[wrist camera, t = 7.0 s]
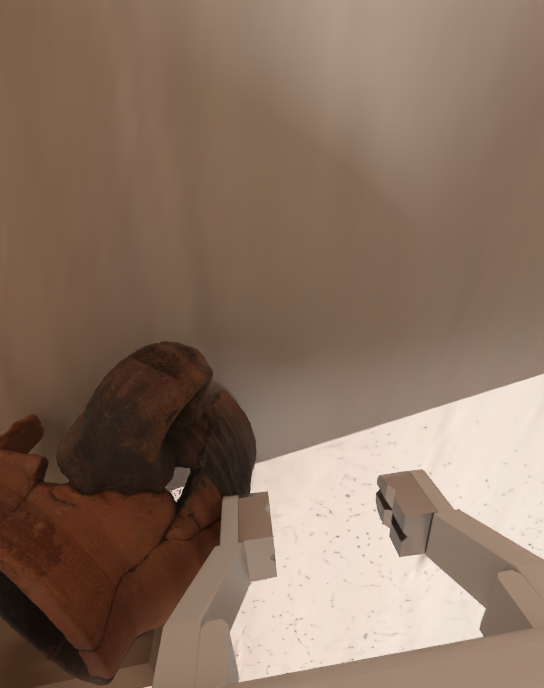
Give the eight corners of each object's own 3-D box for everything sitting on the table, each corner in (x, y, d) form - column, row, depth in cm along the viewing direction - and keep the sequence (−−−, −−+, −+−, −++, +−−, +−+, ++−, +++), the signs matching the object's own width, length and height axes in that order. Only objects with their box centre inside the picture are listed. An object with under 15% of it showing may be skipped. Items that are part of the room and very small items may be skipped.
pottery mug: (244, 519, 17) (129, 741, 10) (112, 433, 18) (-64, 570, 12) (333, 349, 11) (192, 626, 4) (123, 243, 12) (-245, 294, 5)
